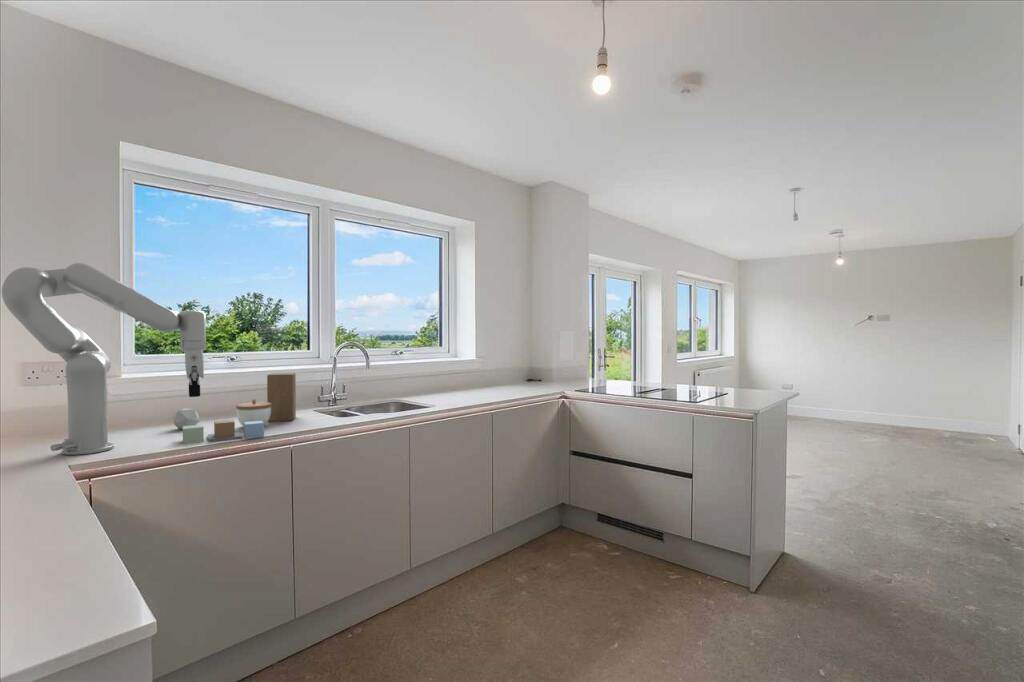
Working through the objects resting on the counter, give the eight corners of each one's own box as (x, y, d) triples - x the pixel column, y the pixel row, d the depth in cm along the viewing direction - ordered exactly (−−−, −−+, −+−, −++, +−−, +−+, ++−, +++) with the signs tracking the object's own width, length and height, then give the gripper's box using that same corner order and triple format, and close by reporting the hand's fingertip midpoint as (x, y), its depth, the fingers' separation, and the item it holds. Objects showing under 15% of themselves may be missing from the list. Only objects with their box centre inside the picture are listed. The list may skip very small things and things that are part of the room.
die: (204, 429, 195) (202, 408, 200) (190, 422, 188) (188, 400, 192) (183, 437, 194) (182, 415, 199) (168, 430, 187) (167, 408, 191)
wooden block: (271, 418, 218) (270, 372, 217) (295, 417, 221) (295, 372, 220) (267, 422, 208) (267, 374, 208) (293, 420, 211) (292, 374, 211)
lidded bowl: (238, 431, 189) (238, 402, 189) (234, 426, 199) (233, 398, 199) (274, 427, 196) (274, 399, 196) (268, 422, 207) (268, 396, 206)
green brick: (203, 441, 171) (203, 427, 171) (182, 443, 168) (182, 428, 168) (203, 438, 176) (202, 424, 176) (182, 440, 173) (182, 426, 173)
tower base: (241, 438, 176) (241, 422, 176) (208, 441, 170) (208, 424, 170) (239, 433, 184) (238, 418, 184) (207, 436, 179) (207, 420, 179)
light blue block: (264, 436, 180) (263, 422, 180) (245, 438, 176) (245, 424, 176) (262, 433, 185) (261, 420, 185) (243, 435, 182) (243, 422, 181)
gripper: (207, 346, 167) (208, 397, 167) (205, 345, 181) (206, 391, 181) (180, 347, 162) (181, 398, 163) (180, 345, 177) (181, 393, 177)
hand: (194, 395), depth 172 cm, fingers open, 9 cm apart
